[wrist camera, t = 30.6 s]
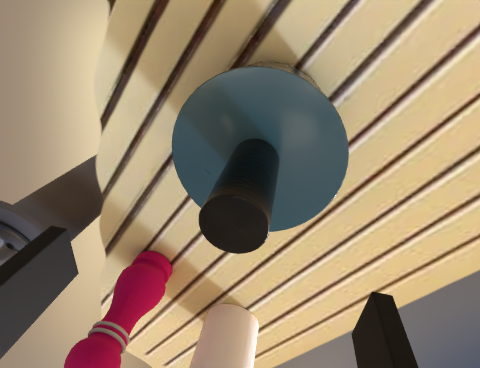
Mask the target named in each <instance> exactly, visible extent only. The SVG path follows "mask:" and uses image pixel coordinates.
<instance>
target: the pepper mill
mask: <svg viewBox="0 0 480 368" xmlns="http://www.w3.org/2000/svg"><path fill="white" fill-rule="evenodd" d="M171 274H172V266H171V264H170V262H169V261H168V259H167V258H165V257H164V256H163V255H161V254H159V253H157V252H154V251H145V252H142V253H140V254H139V255H138V256H137V258H136V259H135V260H134V262H133V264H132V265H131V266H129V267H127V268H126V269H124V270H123V271H122V273H121V274H120V276H119V278H118V280H117V283H116V285H115V289H114V295H113V300H112V304H111V306H110V309H109V311H108V312H107V314H106V315H105V317H104V318H103V319H102V320H101V321H99V322H97V323H95V324H94V325H93V328H92V329H91V330H90V331H89V333H88V338H86V339H83V340H81V341H79V342H78V343H77V344H76V345H75V346H74V347H73V348H72V349H71V351H70V352H69V354H68V356H67V358H66V360H65V364H64V368H120V364H121V355H120V354H122V353H124V351H125V349H126V346H127V345H128V344H129V342H130V338H129V335H130V333H131V331H132V329H133V327H134V326H135V324H136V322H137V321H138V320H139V319H140V318H141V317H142V316H143V315H145V314H146V313H147V312H149V311H150V310H151V309H153V308H154V307H155V306H156V305H157V304H158V303H159V302H160V300H161V299H162V297H163V296H164V293H165V289H166V286H165V284H166V283H167V281H168V279H169V278H170V276H171Z"/></svg>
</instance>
